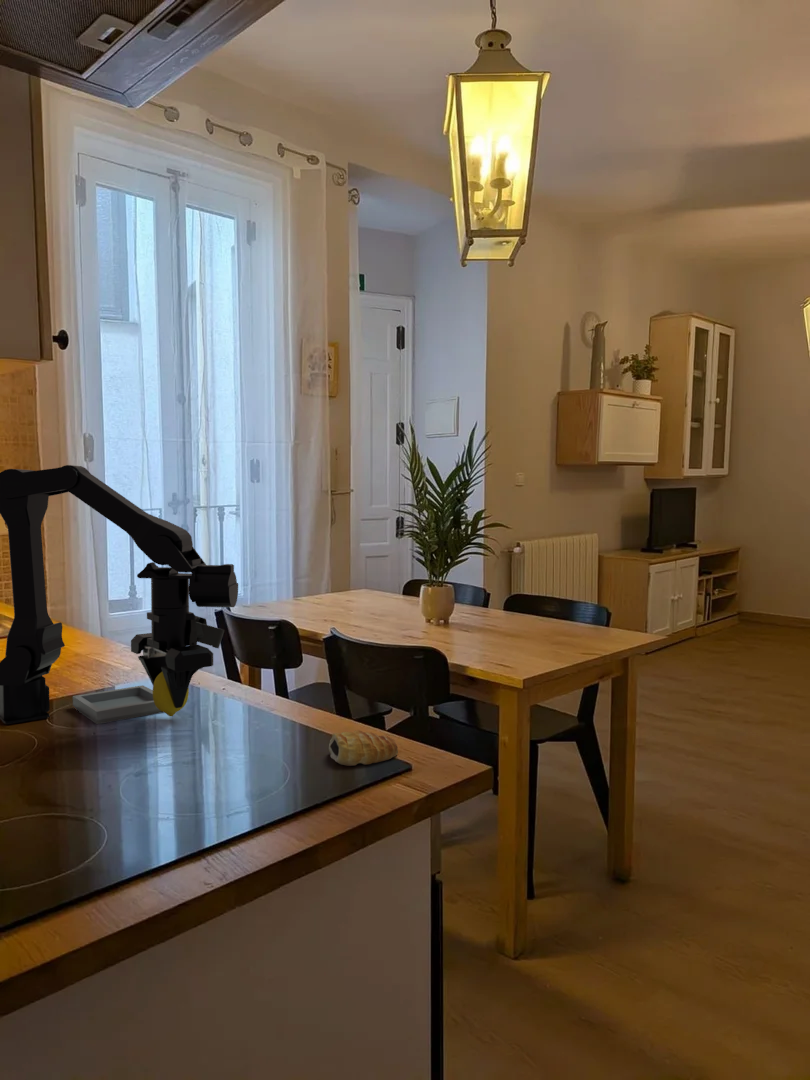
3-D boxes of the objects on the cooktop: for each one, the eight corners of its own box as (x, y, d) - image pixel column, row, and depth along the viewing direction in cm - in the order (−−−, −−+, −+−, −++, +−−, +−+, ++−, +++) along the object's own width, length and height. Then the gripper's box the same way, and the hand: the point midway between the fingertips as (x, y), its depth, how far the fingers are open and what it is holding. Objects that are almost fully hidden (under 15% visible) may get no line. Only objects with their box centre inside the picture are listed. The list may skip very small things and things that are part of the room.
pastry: (387, 747, 112) (387, 721, 112) (405, 762, 106) (405, 734, 106) (324, 754, 109) (325, 728, 108) (339, 771, 102) (339, 742, 102)
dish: (96, 724, 122) (96, 711, 121) (72, 707, 131) (72, 696, 131) (170, 711, 129) (170, 699, 129) (143, 696, 138) (142, 685, 138)
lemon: (178, 722, 121) (178, 671, 120) (146, 720, 122) (145, 669, 122) (195, 712, 126) (194, 664, 126) (163, 710, 127) (163, 662, 127)
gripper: (244, 609, 121) (244, 707, 122) (192, 596, 135) (193, 684, 136) (175, 615, 114) (176, 720, 115) (129, 601, 128) (130, 694, 129)
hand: (170, 703), depth 124 cm, fingers closed on lemon, 5 cm apart
